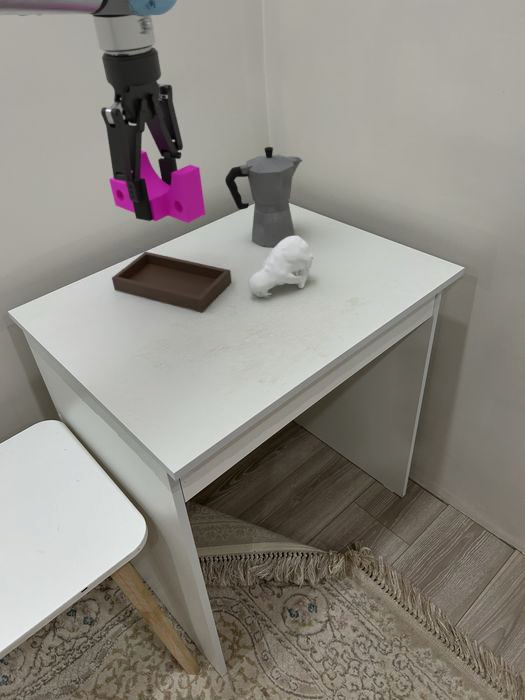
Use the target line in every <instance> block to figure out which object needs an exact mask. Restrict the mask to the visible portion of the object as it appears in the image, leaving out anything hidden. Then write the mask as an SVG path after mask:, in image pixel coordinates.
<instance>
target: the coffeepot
mask: <svg viewBox="0 0 525 700" xmlns="http://www.w3.org/2000/svg"><path fill="white" fill-rule="evenodd" d="M273 152H274V147H272V146H266V147H264V153H265V155H258V156H256V157H254V158H251V159H248V160H246V162H245V164H241V165H239V166H235V167H231V169H230V170H229V172H228V173H227V174H226V176H225V179H224V180H225V184H226V186H227V188H228V190H229V192H230V195H231V197H232V199H233V201H234V203H235V206H236V208H237V209H238V210H246V209H248V208H249V206H250V205H249V204H250V203H249V202H247V203H244V202H243V200H242V195H241V194H240V192H239V189H238V185H237V183H236V181H235V180H236V178H246V177H247V179H248V183H249V189H250V193H251V197H252V201H253V202H254V208H253V216H252V217H253V218H252V230H251V242H253V243H254V244H256V245H258V246H261V247H264V248H265V247H266V248H274V247H275V246H276V245H277V244H278V243H279V242H280V241H282V240H283V239H285V238H286V237H289V236H296V235H295V228H294V222H293V218H292V214H291V209H290V199H291V192H292V183H293V177H294V175H295V173H296V171H297V169H298V167H299V165H300V164H301V163H302V162H303V159H302V158H300V157H299V156H285V155H281V154H273Z"/></svg>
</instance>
